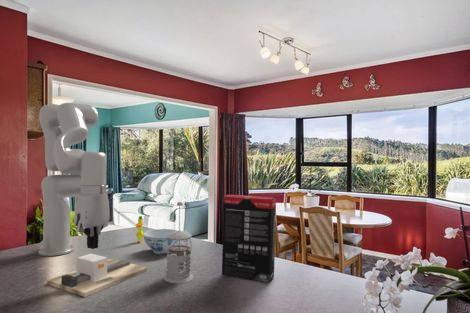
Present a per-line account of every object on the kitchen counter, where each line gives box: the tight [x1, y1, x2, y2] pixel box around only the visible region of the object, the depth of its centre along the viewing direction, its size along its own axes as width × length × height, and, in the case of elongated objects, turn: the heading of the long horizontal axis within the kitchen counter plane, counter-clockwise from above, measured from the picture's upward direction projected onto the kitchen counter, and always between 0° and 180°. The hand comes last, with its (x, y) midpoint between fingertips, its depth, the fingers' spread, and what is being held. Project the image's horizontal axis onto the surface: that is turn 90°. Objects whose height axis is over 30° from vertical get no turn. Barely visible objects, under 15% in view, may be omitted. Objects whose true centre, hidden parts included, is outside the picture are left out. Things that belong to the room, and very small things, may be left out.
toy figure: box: [135, 215, 145, 244], centre depth 146 cm, size 7×4×12 cm, turn 174°
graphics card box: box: [221, 194, 277, 284], centre depth 106 cm, size 17×7×27 cm, turn 71°
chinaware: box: [143, 228, 179, 255], centre depth 133 cm, size 15×15×8 cm
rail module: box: [76, 253, 108, 281], centre depth 101 cm, size 9×5×6 cm, turn 62°
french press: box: [163, 201, 194, 284], centre depth 106 cm, size 10×12×25 cm
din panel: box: [46, 258, 148, 298], centre depth 104 cm, size 18×24×4 cm
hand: (92, 247), depth 101 cm, fingers closed
